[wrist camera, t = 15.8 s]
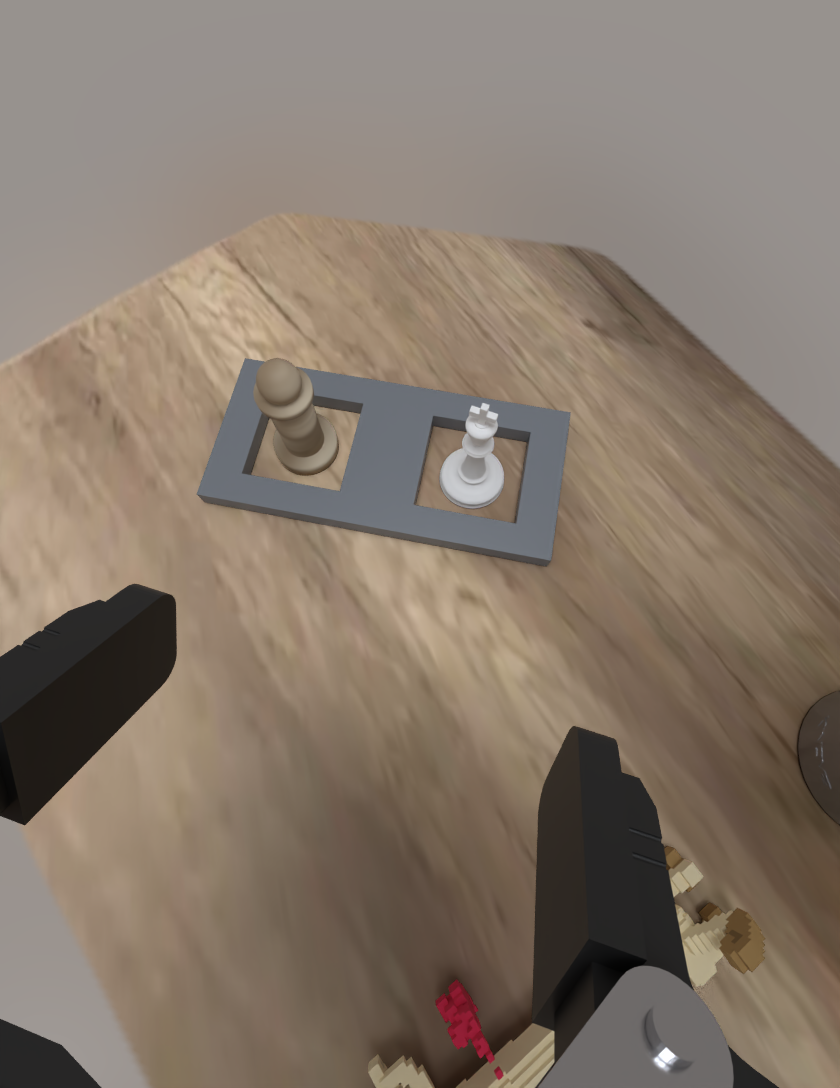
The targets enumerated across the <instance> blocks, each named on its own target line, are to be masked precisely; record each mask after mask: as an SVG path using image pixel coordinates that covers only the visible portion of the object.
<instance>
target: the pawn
mask: <svg viewBox="0 0 840 1088" xmlns="http://www.w3.org/2000/svg"><path fill="white" fill-rule="evenodd" d="M253 395H254V400H255V402H256V404H257V406H258V408H259V409H260V411H261V412H262V413H263V414H264V415H265V416H267V417H269V418H271V419H272V421H273V423H274V425H275V427H276V429H277V430H276V432H275V434H274V439H273V446H274V450H275V453H276V454H277V456H278V458H279V460H280V462H281V463H282V464H283V466H284V467H285V468H286V469H288V470H289V471H291V472H293V473H295V474H299V475H313V474H317V473H319V472H321V471H323V470H325V469H326V468H328V467H329V466H330V465H331V464H332V463H333V461H334V460H335V458H336V456H337V453H338V447H339V444H338V439H337V436H336V432H335V430H334V427H333V426H332V424H331V423H330V421H328V420H327V419H326V418H325V417H323V416H321V415H319V414H316V412H315V409H314V406H313V404H312V401H313V398H314V390H313V386H312V383H311V380H310V378H309V377H308V375H307V374H306V373H305V372H304V371H303V370H301V369H299V368H297V367H295V366H294V365H293V364H292V363H290V362H289V361H287V360H284V359H279V358H275V359H270V360H268V361H266V362H264V363H263V364H262V365H261V366H260V368H259V369H258V371H257V375H256V383H255V386H254V391H253Z"/></svg>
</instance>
